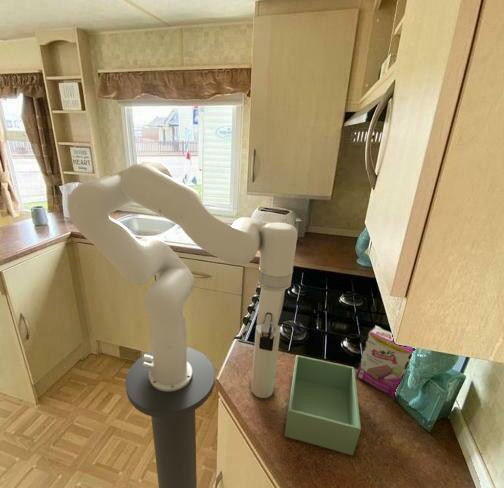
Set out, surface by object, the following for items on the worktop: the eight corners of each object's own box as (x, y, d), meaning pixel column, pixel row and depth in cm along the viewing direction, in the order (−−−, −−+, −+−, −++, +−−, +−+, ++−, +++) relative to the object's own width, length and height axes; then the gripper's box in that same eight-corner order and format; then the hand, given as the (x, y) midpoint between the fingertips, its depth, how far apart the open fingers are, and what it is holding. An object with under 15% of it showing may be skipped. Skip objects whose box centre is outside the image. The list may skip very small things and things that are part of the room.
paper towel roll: (264, 402, 82) (271, 338, 73) (246, 390, 86) (250, 327, 76) (279, 386, 87) (287, 324, 78) (261, 375, 91) (267, 314, 81)
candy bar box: (355, 377, 91) (367, 331, 84) (362, 369, 94) (375, 324, 87) (395, 400, 84) (412, 352, 77) (402, 390, 87) (419, 343, 80)
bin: (284, 436, 74) (288, 410, 70) (292, 377, 90) (296, 354, 87) (352, 455, 70) (361, 429, 66) (348, 390, 87) (354, 367, 83)
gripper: (265, 259, 80) (260, 316, 88) (251, 292, 65) (246, 357, 72) (295, 264, 78) (287, 321, 86) (287, 298, 63) (278, 364, 71)
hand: (268, 337), depth 79 cm, fingers closed on paper towel roll, 8 cm apart
